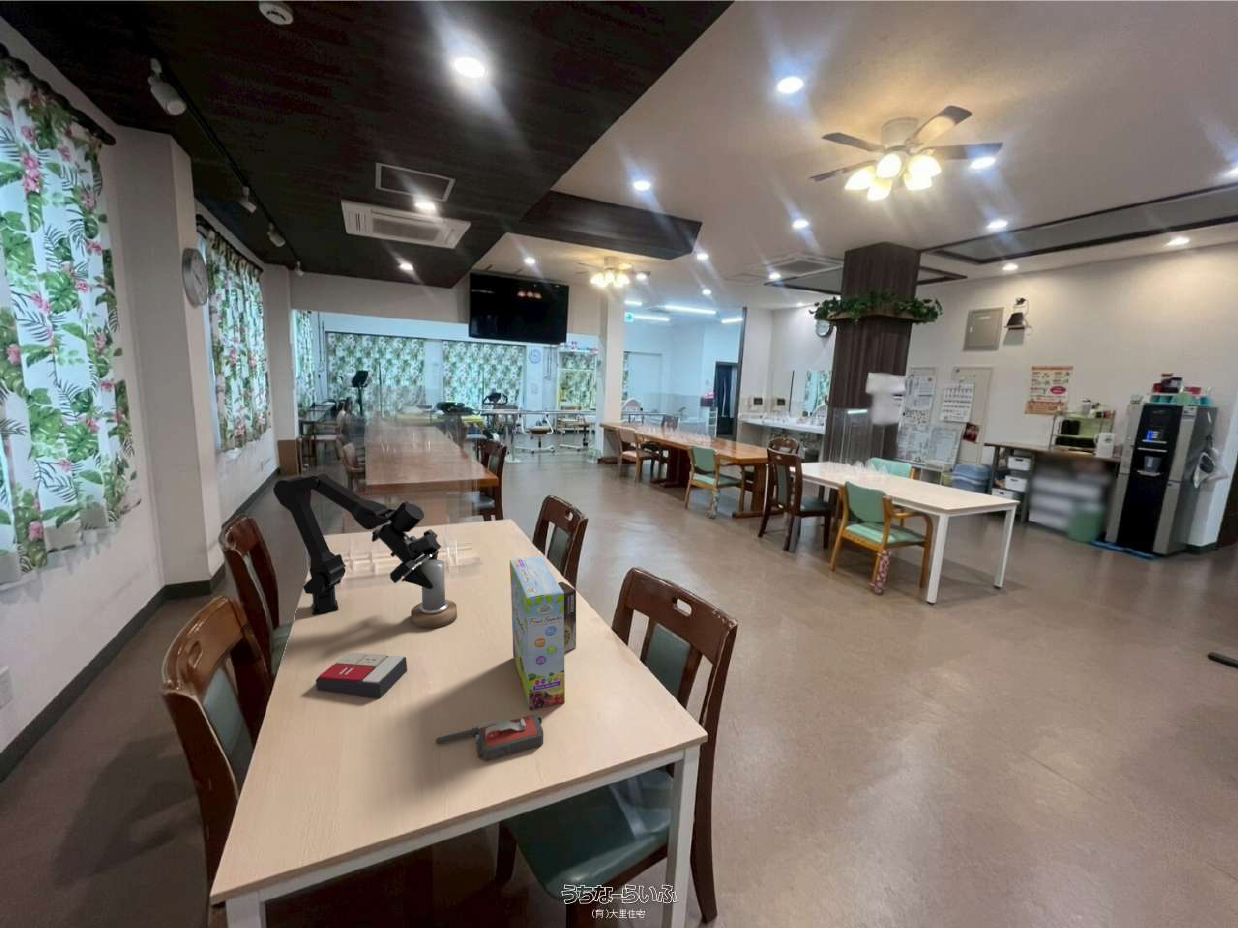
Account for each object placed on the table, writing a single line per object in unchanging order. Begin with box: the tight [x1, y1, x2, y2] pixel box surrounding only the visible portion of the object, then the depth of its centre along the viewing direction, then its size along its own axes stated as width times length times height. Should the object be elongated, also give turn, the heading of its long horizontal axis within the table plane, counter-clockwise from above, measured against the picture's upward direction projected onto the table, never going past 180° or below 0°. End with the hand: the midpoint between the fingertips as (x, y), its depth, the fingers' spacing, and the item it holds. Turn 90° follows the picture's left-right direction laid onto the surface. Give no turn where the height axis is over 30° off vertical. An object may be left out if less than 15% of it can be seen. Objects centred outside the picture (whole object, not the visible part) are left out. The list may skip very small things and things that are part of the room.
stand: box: [410, 599, 458, 630], centre depth 144 cm, size 12×12×3 cm
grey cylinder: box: [419, 559, 448, 614], centre depth 143 cm, size 8×8×13 cm
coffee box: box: [558, 581, 577, 653], centre depth 130 cm, size 9×6×16 cm
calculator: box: [315, 651, 408, 700], centre depth 116 cm, size 11×4×15 cm
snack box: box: [509, 555, 566, 710], centre depth 116 cm, size 22×9×26 cm, turn 21°
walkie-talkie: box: [435, 714, 544, 762], centre depth 97 cm, size 9×4×20 cm
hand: (437, 583), depth 143 cm, fingers open, 6 cm apart
